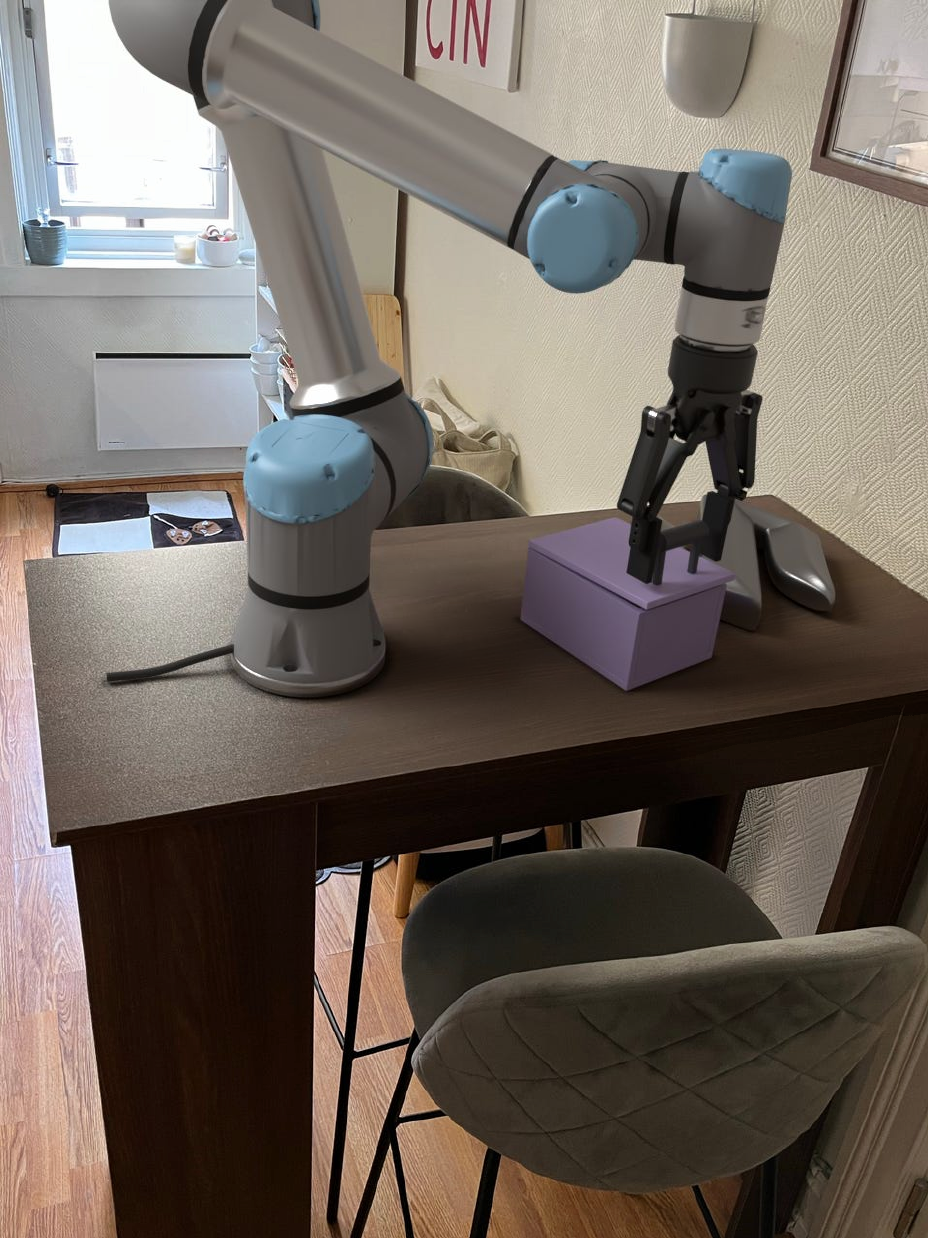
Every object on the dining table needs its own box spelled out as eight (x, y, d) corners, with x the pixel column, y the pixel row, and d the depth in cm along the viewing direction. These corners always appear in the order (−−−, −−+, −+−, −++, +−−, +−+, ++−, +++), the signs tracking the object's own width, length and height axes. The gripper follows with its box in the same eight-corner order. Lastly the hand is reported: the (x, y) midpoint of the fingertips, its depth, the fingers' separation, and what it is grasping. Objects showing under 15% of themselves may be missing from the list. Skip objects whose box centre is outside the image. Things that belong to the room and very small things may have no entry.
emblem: (573, 496, 139) (758, 479, 149) (568, 535, 141) (750, 516, 151) (693, 600, 116) (901, 572, 126) (685, 644, 119) (889, 613, 129)
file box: (711, 657, 117) (727, 584, 113) (626, 691, 110) (639, 613, 106) (603, 593, 128) (614, 523, 124) (520, 619, 121) (528, 547, 117)
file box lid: (734, 580, 112) (745, 522, 109) (646, 610, 105) (654, 549, 102) (614, 523, 124) (620, 469, 121) (528, 546, 117) (532, 490, 114)
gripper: (660, 365, 90) (621, 609, 101) (826, 337, 102) (775, 557, 113) (597, 341, 95) (566, 575, 106) (762, 317, 107) (719, 530, 118)
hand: (674, 566), depth 109 cm, fingers open, 9 cm apart
